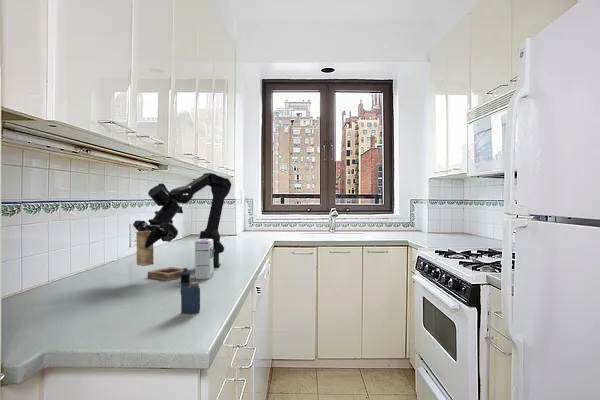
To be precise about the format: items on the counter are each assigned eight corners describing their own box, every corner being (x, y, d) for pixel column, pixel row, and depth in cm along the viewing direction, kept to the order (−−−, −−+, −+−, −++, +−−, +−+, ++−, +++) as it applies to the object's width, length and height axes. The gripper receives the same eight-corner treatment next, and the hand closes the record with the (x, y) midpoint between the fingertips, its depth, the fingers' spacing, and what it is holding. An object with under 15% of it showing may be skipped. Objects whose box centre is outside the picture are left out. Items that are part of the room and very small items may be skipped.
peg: (146, 263, 147) (145, 230, 146) (153, 264, 145) (153, 231, 144) (136, 265, 143) (136, 231, 143) (144, 266, 141) (143, 232, 141)
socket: (170, 272, 161) (170, 267, 161) (190, 275, 156) (190, 269, 156) (147, 277, 152) (147, 271, 152) (167, 280, 146) (167, 274, 146)
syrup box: (210, 279, 149) (210, 240, 149) (194, 279, 149) (194, 240, 149) (213, 275, 155) (213, 238, 155) (198, 275, 155) (198, 238, 155)
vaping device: (182, 311, 109) (182, 267, 109) (201, 311, 109) (201, 267, 109) (179, 313, 107) (179, 269, 107) (198, 314, 107) (198, 269, 106)
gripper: (195, 229, 152) (172, 262, 143) (161, 226, 161) (137, 257, 152) (179, 209, 145) (154, 243, 136) (144, 208, 154) (119, 239, 145)
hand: (141, 246), depth 142 cm, fingers closed on peg, 4 cm apart
